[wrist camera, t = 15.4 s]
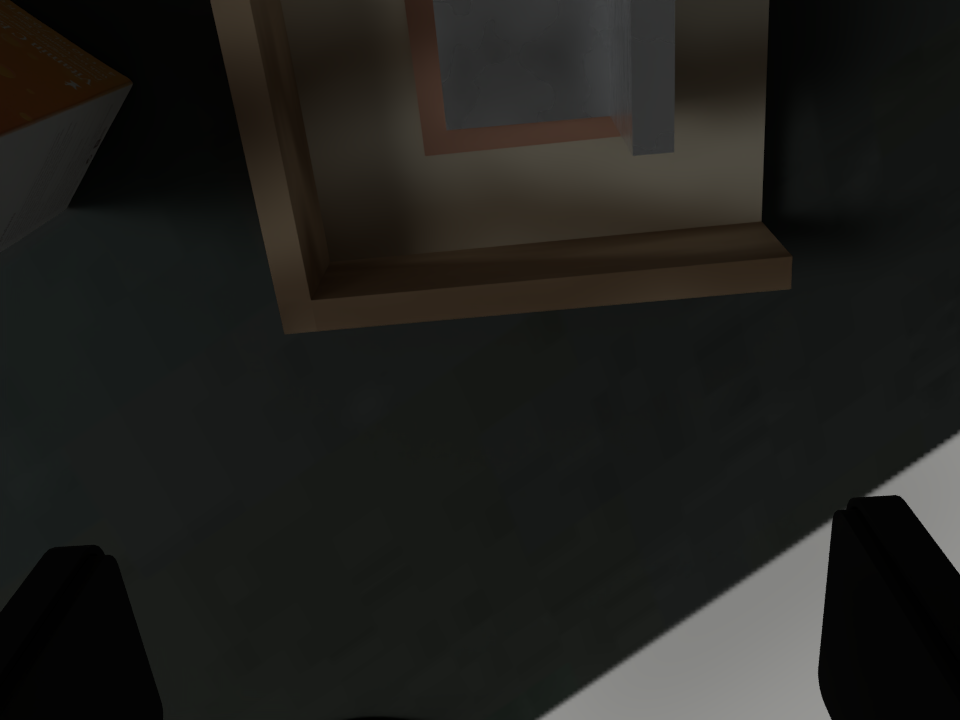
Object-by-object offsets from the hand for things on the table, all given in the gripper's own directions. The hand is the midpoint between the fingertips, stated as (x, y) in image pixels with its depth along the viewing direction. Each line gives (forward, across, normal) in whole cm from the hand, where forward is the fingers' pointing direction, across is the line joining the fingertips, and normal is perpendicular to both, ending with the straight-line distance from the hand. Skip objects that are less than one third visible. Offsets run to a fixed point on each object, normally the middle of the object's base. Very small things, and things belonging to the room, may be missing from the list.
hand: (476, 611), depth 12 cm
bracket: (+24, -2, -5) cm, 24 cm away
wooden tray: (+25, -1, -4) cm, 25 cm away
